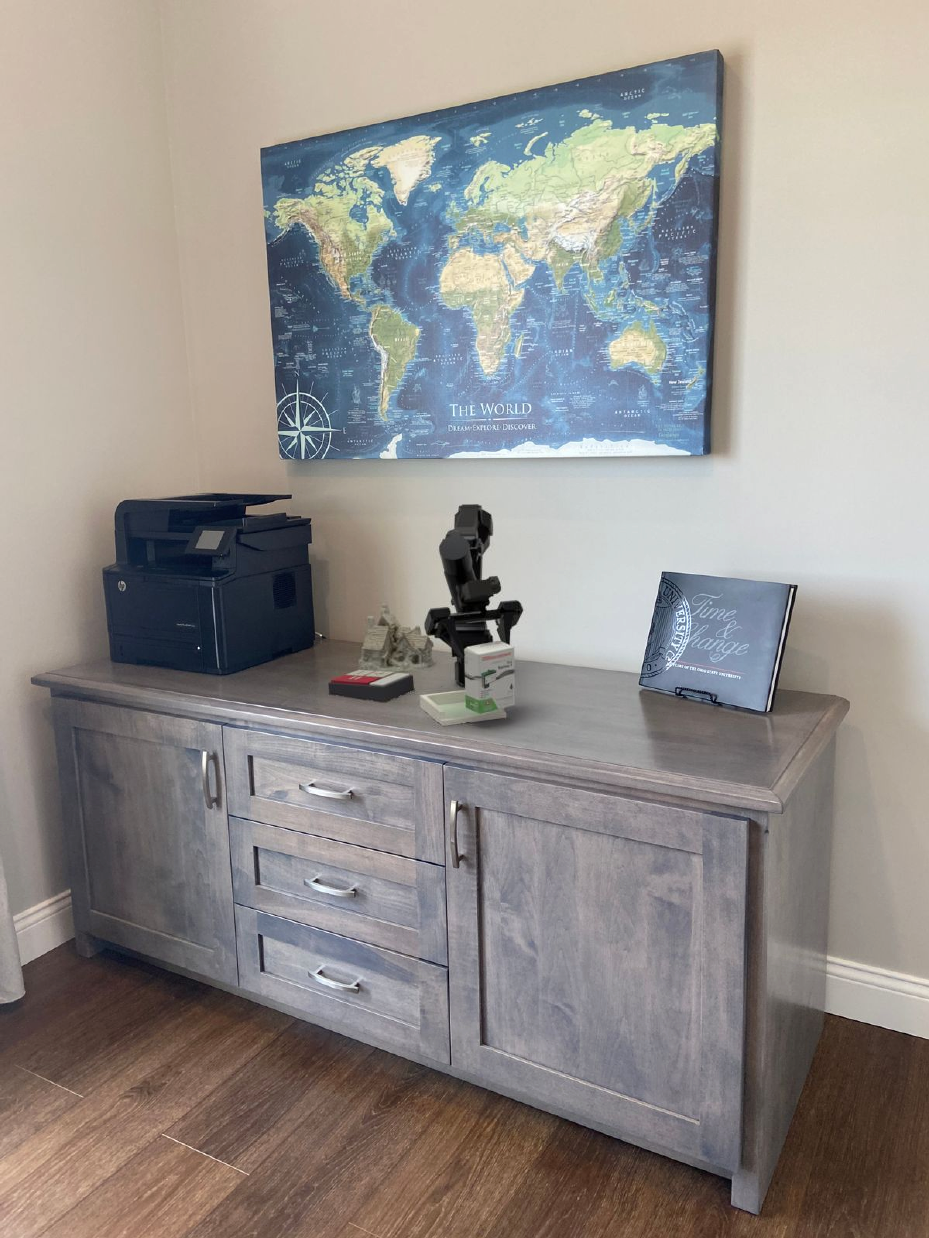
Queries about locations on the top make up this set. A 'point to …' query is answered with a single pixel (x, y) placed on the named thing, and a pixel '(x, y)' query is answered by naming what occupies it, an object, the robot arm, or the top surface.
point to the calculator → (372, 685)
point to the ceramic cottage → (394, 646)
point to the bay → (454, 709)
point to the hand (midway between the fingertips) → (486, 654)
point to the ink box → (489, 676)
